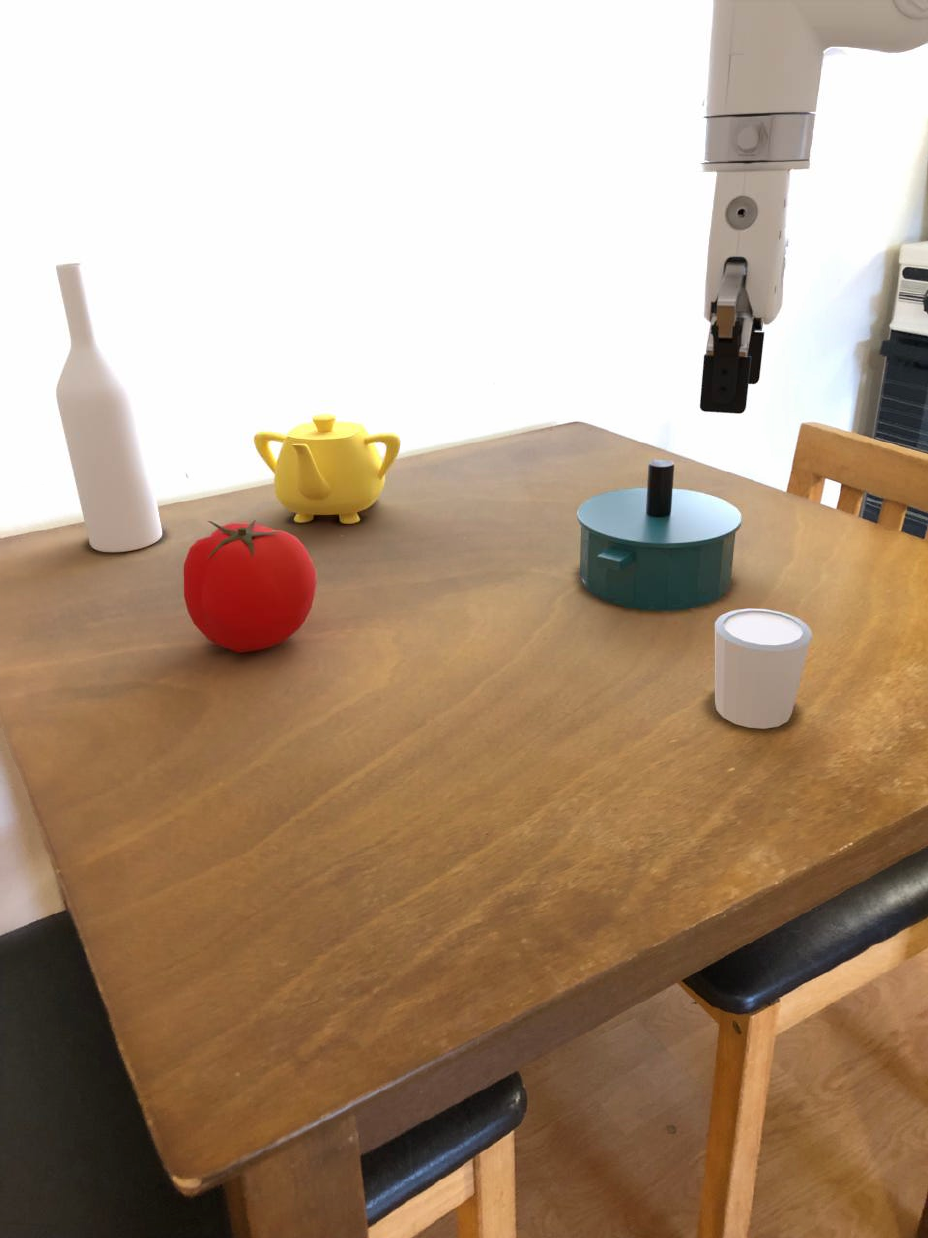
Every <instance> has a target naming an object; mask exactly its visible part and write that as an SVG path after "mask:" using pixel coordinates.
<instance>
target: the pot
mask: <svg viewBox="0 0 928 1238" xmlns="http://www.w3.org/2000/svg"><path fill="white" fill-rule="evenodd" d="M735 543H736V533H734V534H733V535H731V536H730V537H728V538H726V539H724V540H721V541H718V542H714V543H711V544H706V545H701V546H694V547H684V548H650V547H639V546H632V545H626V544H621V543H617V542H613V541H609V540H606V539H603V538H601V537H598V536H596V535H594V534H592V533H590V532H588V531H587V530H585V529H584V528H583V527H582V526H581V525H580V550H579V576H580V581H581V583H582V584H581V585H582V586H583V587H584V588H585V589H586V590H587V591H588V592H589V593H590V594H591V595H593V596H594V597H597V598H598V599H601V600H602V601H605V602H607V603H610V604H612V605H613V604H614V605H617V606H621V607H624V608H628V609H635V610H641V611H642V610H644V611H655V612H657V611H658V612H661V611H662V612H663V611H664V612H669V611H670V612H671V611H682V610H683V611H685V610H690V609H694V608H700V607H703V606H707V605H709V604H712V603H714V602H715V601H718V600H720V598H722V597H724V596H725V595H726V594H727V592H728V590H729V588H730V586H731V579H732V570H733V561H734V551H735Z"/></svg>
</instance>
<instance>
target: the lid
mask: <svg viewBox="0 0 928 1238" xmlns="http://www.w3.org/2000/svg"><path fill="white" fill-rule="evenodd" d="M647 466H648V468H647V484H646V487H633V488H623V489H617V490H613V491H612V490H611V491H606V492H603V493H600V494H597V495H594V496H592V497H590V498H588V499H586V500H585V501H583V502H582V503H581V504H580V505H579V507H578V509H577V512H576V518H577V522H578V523H579V525H580V527H581V526H582V527H583V528H584V529H585V530H587V531H588V532H590V533H592V534H594V535H596V536H598V537H601V538H603V539H606V540H609V541H613V542H617V543H621V544H626V545H632V546H639V547H650V548H684V547H694V546H701V545H706V544H711V543H714V542H718V541H721V540H724V539H726V538H728V537H730V536H731V535H733V534H734V533H735V534H737V532H738V531H739V530H740V528H741V526H742V520H743V518H742V514H741V512H740V510H739V509H738V508H737V507H736V506H734V505H733V504H731V503H730V502H728V501H726V500H724V499H723V498H719V497H717V496H714V495H711V494H707V493H704V492H700V491H694V490H689V489H682V488H674V477H675V476H674V475H675V462H673V461H671V460H668V459H653V460H650V461H649V462H648V465H647Z"/></svg>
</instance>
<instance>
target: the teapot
mask: <svg viewBox="0 0 928 1238" xmlns="http://www.w3.org/2000/svg"><path fill="white" fill-rule="evenodd" d="M311 419H312V422H306V423H301V424H298V425H296V426H294V427H293V428H292V429H290V430H289V431H288V433H287V434H284V433H280V432H275V431H266V430H264V431H263V430H262V431H259V432H257V433H256V434H255V435H254V437H253V443H254V446H255V449H256V451H257V453H258V455H259V456H260V458H261V459H262V460H263V462H264V463H265V464H266V465H267V467H268V468H269V469H270V471H271V472H272V473H273V474H274V476H273V477H274V479H273V480H274V481H273V488H274V495H275V497H276V499H277V500H278V501H279V503H280V504H281V506H283V507H284V508H285V509H286V510H288V511H289V512H293V513H296V514H295V516H294V518H293V521H294V522H295V523H308V522H312V521H313V520H314V517H315V516H318V515H319V516H331V515H332V516H333V515H338V518H339V522H340V523H342V524H347V525H348V524H349V525H351V524H355V523H358V522H360V520H361V518H360V516H359V514H358V512H363V511H365V510H367V509H368V508H370V507H371V506H372V505H374V503H376V501H377V499H378V498H379V496H380V495H381V493H382V491H383V489H384V488H385V483H386V474H387V472H388V471H389V470H390V469H391V467H392V465H393V464H394V462H395V460H396V459H397V457H398V455H399V452H400V450H401V438H400V437H399V435H397V434H395V433H392V432H382V433H375V434H369V432H368V431H367V430H366V428H365V427H364V426H363V425H362V424H361V423H359V422H354V421H353V422H351V421H336V415H334V414H331V413H322V414H317V415H314V416H313V417H312V418H311ZM270 442H277V443H282V444H281V448H280V450H279V454H278V457H277V458H276V457H275V455H274V453H273V451H272V449H271V447H270ZM375 443H382V444H384V445H385V453H384V457H383V460H382V458H381V455H380V451H378V449H377V447H376V444H375Z"/></svg>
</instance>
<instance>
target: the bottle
mask: <svg viewBox="0 0 928 1238" xmlns="http://www.w3.org/2000/svg"><path fill="white" fill-rule="evenodd" d="M55 270H56V275H57V279H58V284H59V289H60V293H61V299H62V303H63V307H64V312H65V317H66V321H67V327H68V332H69V337H70V349H69V352H68V355H67V357H66V360H65V363H64V365H63V368H62V370H61V372H60V375H59V378H58V381H57V384H56V388H55V394H56V395H55V397H56V402H57V407H58V412H59V415H60V420H61V426H62V429H63V433H64V438H65V442H66V446H67V451H68V456H69V459H70V464H71V468H72V469H71V470H72V473H73V478H74V482H75V485H76V490H77V495H78V499H79V504H80V507H81V513H82V516H83V521H84V525H85V529H86V533H87V537H88V542H89V545H90V547H91V548H92V549H94V550H95V551H98V552H103V553H125V552H130V551H131V552H132V551H136V550H141V549H143V548H147V547H150V546H151V545H154V544H155V543H157V542H158V541H159V540H160V539H161V538H162V536H163V529H162V523H161V519H160V513H159V507H158V502H157V497H156V491H155V486H154V481H153V477H152V471H151V465H150V460H149V455H148V450H147V444H146V440H145V439H146V438H145V434H144V428H143V424H142V423H143V422H142V418H141V414H140V407H139V402H138V397H137V394H136V393H137V392H136V388H135V385H134V383H133V381H132V379H131V378H130V376H129V375H128V373H127V372H126V371H125V370H124V369H123V367H121V365H120V364H119V362H117V361H116V360H115V359H114V358H113V356H112V355H111V354H110V353H109V352H108V351H107V349H106V348H105V347H104V346H103V344H102V343H101V341H100V338H99V334H98V330H97V325H96V321H95V316H94V312H93V307H92V301H91V298H90V296H91V295H90V292H89V287H88V281H87V278H86V272H85V268H84V265H83V263H81V262H79V263H78V262H75V263H74V262H73V263H61V264H57V265H55Z"/></svg>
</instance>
